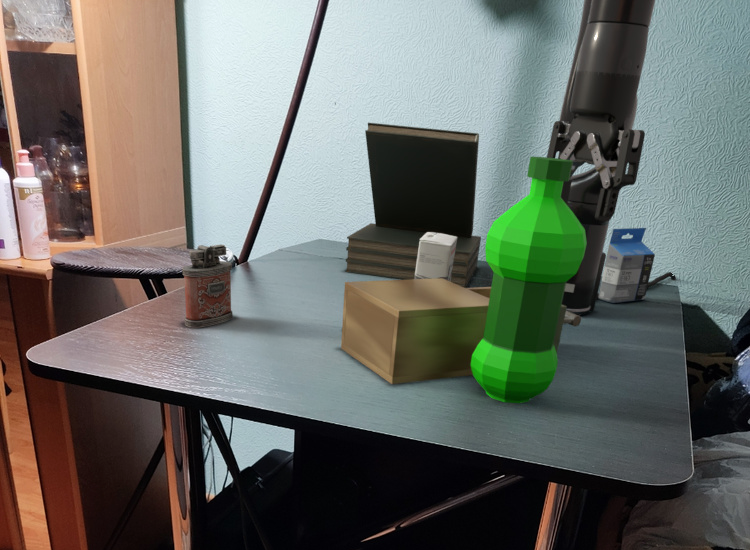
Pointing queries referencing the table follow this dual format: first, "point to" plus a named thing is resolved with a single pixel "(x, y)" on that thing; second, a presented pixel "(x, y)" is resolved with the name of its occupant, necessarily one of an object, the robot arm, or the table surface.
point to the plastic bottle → (528, 286)
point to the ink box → (435, 256)
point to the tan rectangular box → (413, 327)
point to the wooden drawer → (563, 319)
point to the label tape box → (626, 267)
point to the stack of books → (417, 200)
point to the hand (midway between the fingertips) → (579, 214)
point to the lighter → (207, 287)
